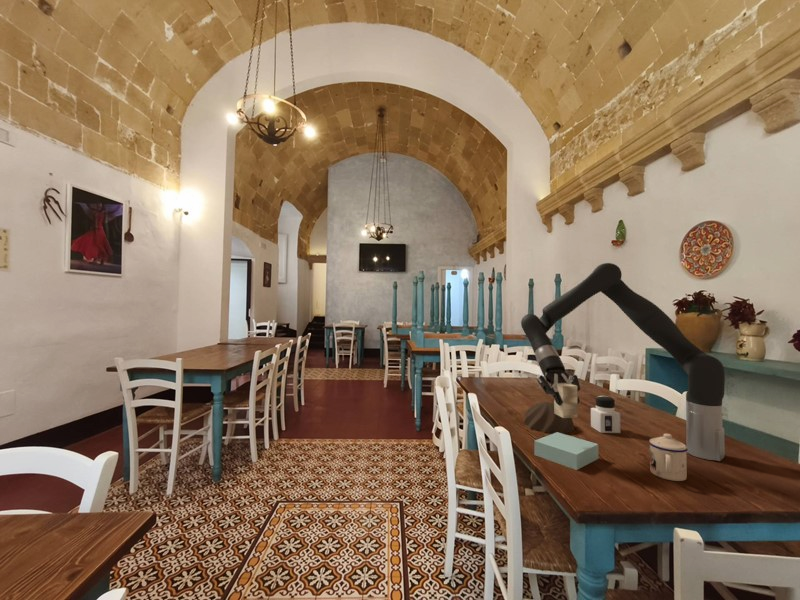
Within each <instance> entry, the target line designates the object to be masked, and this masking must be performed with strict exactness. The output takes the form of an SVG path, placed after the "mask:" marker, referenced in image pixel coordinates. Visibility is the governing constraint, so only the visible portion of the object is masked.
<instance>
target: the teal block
mask: <svg viewBox="0 0 800 600" xmlns="http://www.w3.org/2000/svg"><path fill="white" fill-rule="evenodd" d="M533 442H534V443H533V444H534V446H533V447H534V449H533V450H534V456H536V457H539V458H542V459H544V460H547V461H550V462H553V463H556V464H559V465H562V466H563V467H566V468H569V469H572V470H575V471H578V470H579V469H581V468H583V467H586V466H587V465H589V464H591V463H593V462H595V461H597V460H599V443H595V442H591V441H589V440H585V439H582V438H578V437H575V436H572V435H568V434H566V433H563V434H562V433H558V432H556V433H550V434H549V435H548V434H547V435H545V436H544V437H540V438H538V439H535V440H534V441H533Z"/></svg>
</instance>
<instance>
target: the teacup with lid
mask: <svg viewBox="0 0 800 600" xmlns="http://www.w3.org/2000/svg"><path fill="white" fill-rule="evenodd" d="M648 444H649V470H650V473H651V474H653V475H654V476H656V477H658V478H661V479H663V480H668V481H673V482H683V481H686V480H687V478H688V475H687V474H688V473H687V471H688V470H687V465H688V464H687V460H688V459H687V454H688V452H687V450H688V449H687V447H686V444H685V443H683V442H682V441H679V440H677V439H675V438H673V436H672V434H670V433H663V436H659V437H652V438H650V439H649V441H648Z"/></svg>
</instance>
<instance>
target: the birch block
mask: <svg viewBox="0 0 800 600" xmlns="http://www.w3.org/2000/svg"><path fill="white" fill-rule="evenodd" d="M556 387H557V389H558V392H559V394H560V396H561V399H562V401H563V404H562V405H561V406H559V405H558V404H557V403H556V402H555V399H554V398H553V399H554V401H553V403H554V413H555V414H557V415H558V416H560V417H562V418H572V419H573V418H578V405H577V395H578V393H577V386H576V385H573V384H570V383H558V384H556Z"/></svg>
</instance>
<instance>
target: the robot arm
mask: <svg viewBox="0 0 800 600" xmlns="http://www.w3.org/2000/svg"><path fill="white" fill-rule="evenodd" d="M598 293H601V294H604V296H606V298H607V297H608V298H609V299H610V300H611V301H612V302H613V303H614V304H615V305H616V306H617V307H619V309H620V310H621V311H622V312H623V313H624V314H625V316H627V318H629V319H630V320H631V322H633V324H634V325H635V326H636V327H637V328H639V330H641V331H642V332H643V333H644V334H645V335H646V336H647V337H649V338H650V339H651V340H652V341H653V342H655V344H657V345H658V346H660V347H661V348H662V349H664V350H665V351H667V353H669V355H671V357H672V358H673V359H674V360H675V361H676V362H677V364H678V365H680V367H681V368H682V369H683V371H684V372H685V373H686V374H687V375H688V378H687V379H688V381H687V382H688V384H687V385H688V388H687V391H686V393H685V401H686V402H685V415H686V416H685V417H686V418H685V419H686V420H685V423H686V424H685V425H686V426H685V428H686V430H685V431H686V432H685V433H686V438H685V439H686V444H685V445H686V447H687V449H688V450H687V451H686V453H687V454H689V455H691V456H693V457H697V458H700V459H704V460H709V461H717V462H721V461H723V459H724V458H725V455H726V454H725V428H724V427H723V399H724V397H725V386H726V384H725V379H726V378H725V377H726V376H725V375H726V374H725V373H726V371H725V368H724V365H723V363H722V361H720V359H718V358H716V357H715V356H712V355H710V354H707V353H706V352H704V351H703V350H701V349H700V348H699V347H697V346H696V344H694V343H693V342H691V341H690V340H689V339H688V338H687V337H686V336H685V335H684V334H683V332H682V331H681V329H680V328H679V327H678V325H677V324H676V323H675V322H674V321H673V320H672V319H671V317H670V316H669V315H667V313H666V312H664V311H663V310H662V309H661V308H660V307H659V306H657V305H656V304H655V303H654V302H652V301H650V300H649V299H647V298H646V297H644V296H642V295H640V294H638V293H637V292H635V291H634V290H633V289H631V288H630V287H629V286H628V285H627V284H626V283H625V281H623V280H622V270H621V267H619V266H618V265H617V264H615V263H610V262H605V263H601V264H599V265H598V266H596V267H595V269H594V270H593V271H592V272H591V273H590V274H589V275H588V276H587V277H586V278H584V279H583V280H582V281H581V282H580V283H578V284H577V285H576V286H574V287H573V288H571V289H570V290H568V291H566V292H565V293H564V294H562V295H560V296H559V297H557V298H556V299H554V300H552V301H551V302H550V303H548V304H547V305H546V306H544V307H543V308H542V310H541V311H542V315H541V316H540V317H538V316H537V315H535V314H534V313H527V314H526V315H524V316H523V317H522V318H521V322H520V323H521V324H520V325H521V326H520V327H521V328H522V330H523V332H524V334H525V336H526V338H527V339H528V341H529V343H530V345H531V348H532V351H533V354H534V356H535V359H536V361H537V364H538V367H539V368H540V369H539V370H540V371H541V373H542V374H541V375H539V376H538V378H537V382H538V384H539V386H540V387H541V389H543V391H544V393H545V394H546V395H551V396H552V397H553V399H555V402H556V403H557V404H558V405H559V406H561V405H562V404H563V401H562V399H561V396H560V394H559V392H558V389H557V387H556V384H558V383H570V384H573V385H576V386H577V406H579V405H578V404H580V398H579V396H578V394H579V393H578V392H580V390H581V387H580V386H581V385H580V381H579V378H578V375H576V374H573V375H569V374H568V372H567V371H566V368H565V366H564V363H563V361H562V359H561V357H560V355H559V353H558V351H557V349H556V348H555V347H554V345H553V343H552V341H551V339H550V338H549V336H548V335H547V333H548V332H549V331H550V330H551V329H552V328H553V327H554V326H555V324H556V323H557V322H559V321H560V320H561V319H563V318H564V317H566V316H568V315H569V314H570V313H571V312H573V311H574V310H576V309H577V308H579V307H580V306H581V305H582V304H583V303H585V302H586V301H587V300H589V299H591V298H592V297H593V296H595V295H597V294H598Z"/></svg>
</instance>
